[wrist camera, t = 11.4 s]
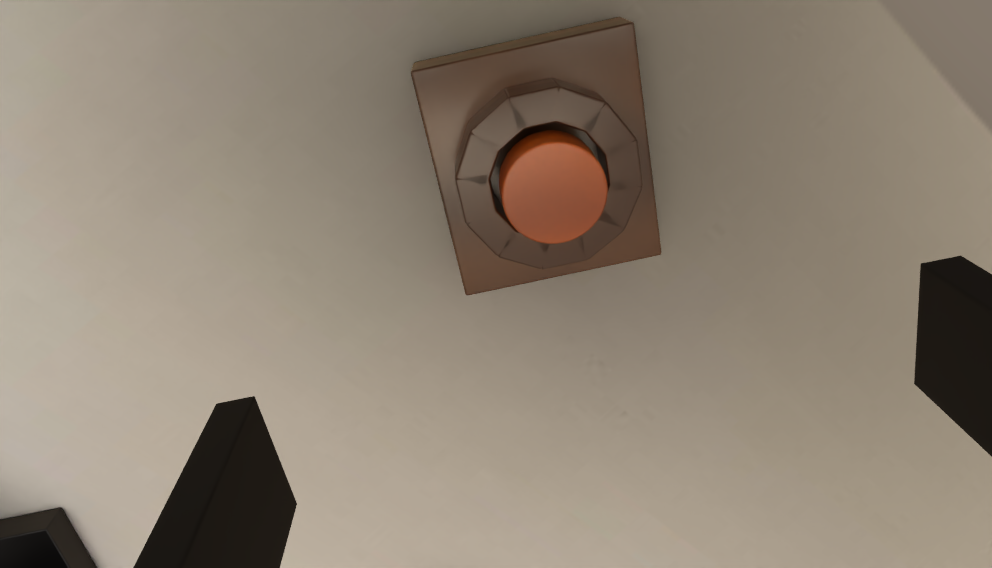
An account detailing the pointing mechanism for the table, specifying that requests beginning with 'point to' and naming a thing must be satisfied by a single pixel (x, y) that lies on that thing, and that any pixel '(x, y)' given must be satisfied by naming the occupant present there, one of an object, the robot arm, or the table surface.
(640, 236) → the button block
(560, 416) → the table surface
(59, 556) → the bracket
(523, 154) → the button
